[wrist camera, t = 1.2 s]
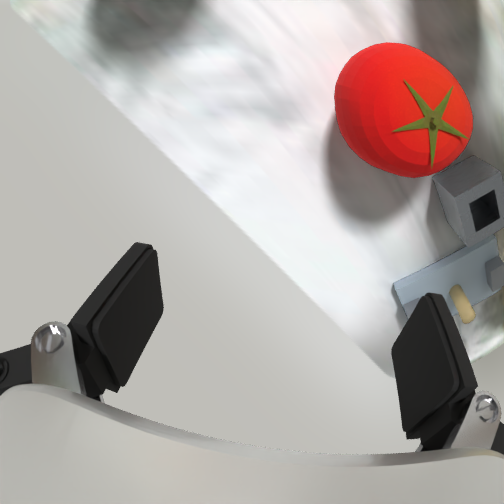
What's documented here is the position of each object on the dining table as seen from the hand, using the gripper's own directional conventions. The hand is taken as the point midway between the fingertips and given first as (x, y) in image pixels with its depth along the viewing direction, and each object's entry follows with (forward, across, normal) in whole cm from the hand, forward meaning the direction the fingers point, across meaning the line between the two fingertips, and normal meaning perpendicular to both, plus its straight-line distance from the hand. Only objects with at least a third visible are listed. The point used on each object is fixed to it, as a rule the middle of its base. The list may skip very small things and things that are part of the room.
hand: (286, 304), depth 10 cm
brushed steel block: (+23, -20, 0) cm, 30 cm away
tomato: (+23, -8, -6) cm, 25 cm away
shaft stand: (+23, -25, +13) cm, 36 cm away
